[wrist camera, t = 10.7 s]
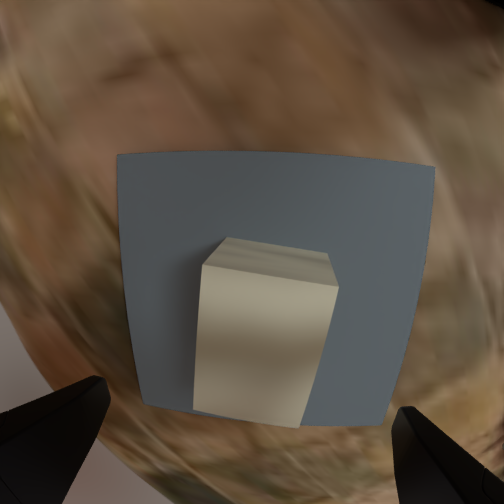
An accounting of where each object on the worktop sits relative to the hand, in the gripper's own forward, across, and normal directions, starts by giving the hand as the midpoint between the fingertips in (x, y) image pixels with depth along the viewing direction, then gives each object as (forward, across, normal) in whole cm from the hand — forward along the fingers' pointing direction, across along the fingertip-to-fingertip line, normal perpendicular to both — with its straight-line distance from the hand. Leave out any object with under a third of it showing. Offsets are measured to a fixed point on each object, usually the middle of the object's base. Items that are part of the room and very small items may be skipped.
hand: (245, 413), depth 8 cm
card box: (+10, 0, +2) cm, 10 cm away
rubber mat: (+11, 0, +2) cm, 11 cm away
